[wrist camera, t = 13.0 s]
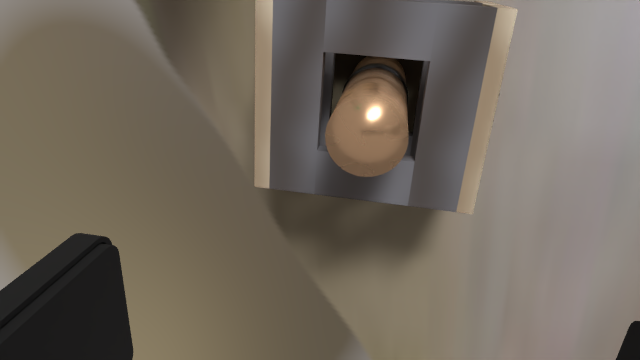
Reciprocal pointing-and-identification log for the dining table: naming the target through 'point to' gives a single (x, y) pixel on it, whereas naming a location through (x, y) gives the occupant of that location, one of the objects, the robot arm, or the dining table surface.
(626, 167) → the dining table surface
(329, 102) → the collar stand
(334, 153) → the tan cylinder
